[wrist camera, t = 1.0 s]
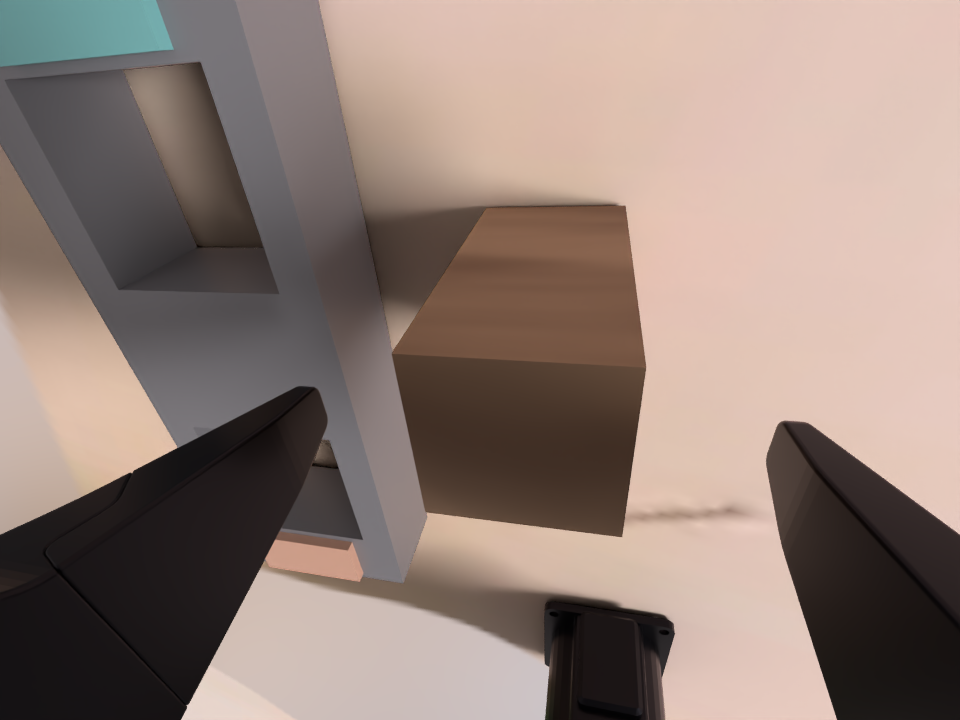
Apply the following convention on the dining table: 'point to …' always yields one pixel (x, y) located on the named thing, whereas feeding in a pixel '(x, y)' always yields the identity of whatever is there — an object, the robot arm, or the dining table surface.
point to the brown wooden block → (529, 372)
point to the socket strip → (224, 271)
